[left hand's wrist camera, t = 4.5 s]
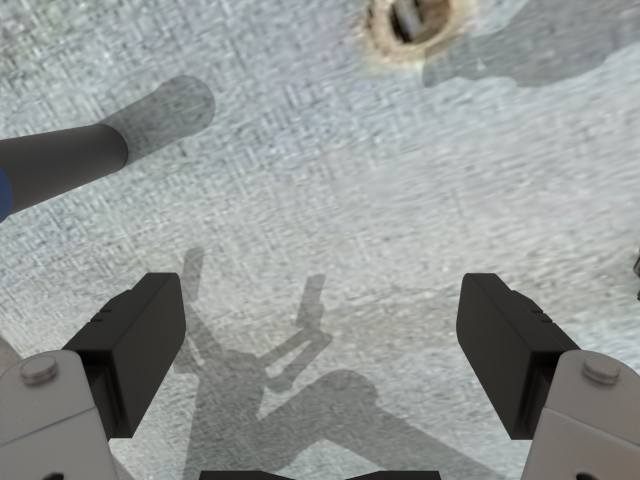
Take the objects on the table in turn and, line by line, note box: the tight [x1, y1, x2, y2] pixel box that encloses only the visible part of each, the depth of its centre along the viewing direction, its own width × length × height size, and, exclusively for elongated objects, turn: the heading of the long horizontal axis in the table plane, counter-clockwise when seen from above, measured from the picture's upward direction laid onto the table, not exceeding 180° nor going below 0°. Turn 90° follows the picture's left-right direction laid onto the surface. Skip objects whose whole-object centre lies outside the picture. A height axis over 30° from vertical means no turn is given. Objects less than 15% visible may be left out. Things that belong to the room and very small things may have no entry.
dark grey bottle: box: [0, 124, 128, 216], centre depth 30 cm, size 5×5×18 cm
